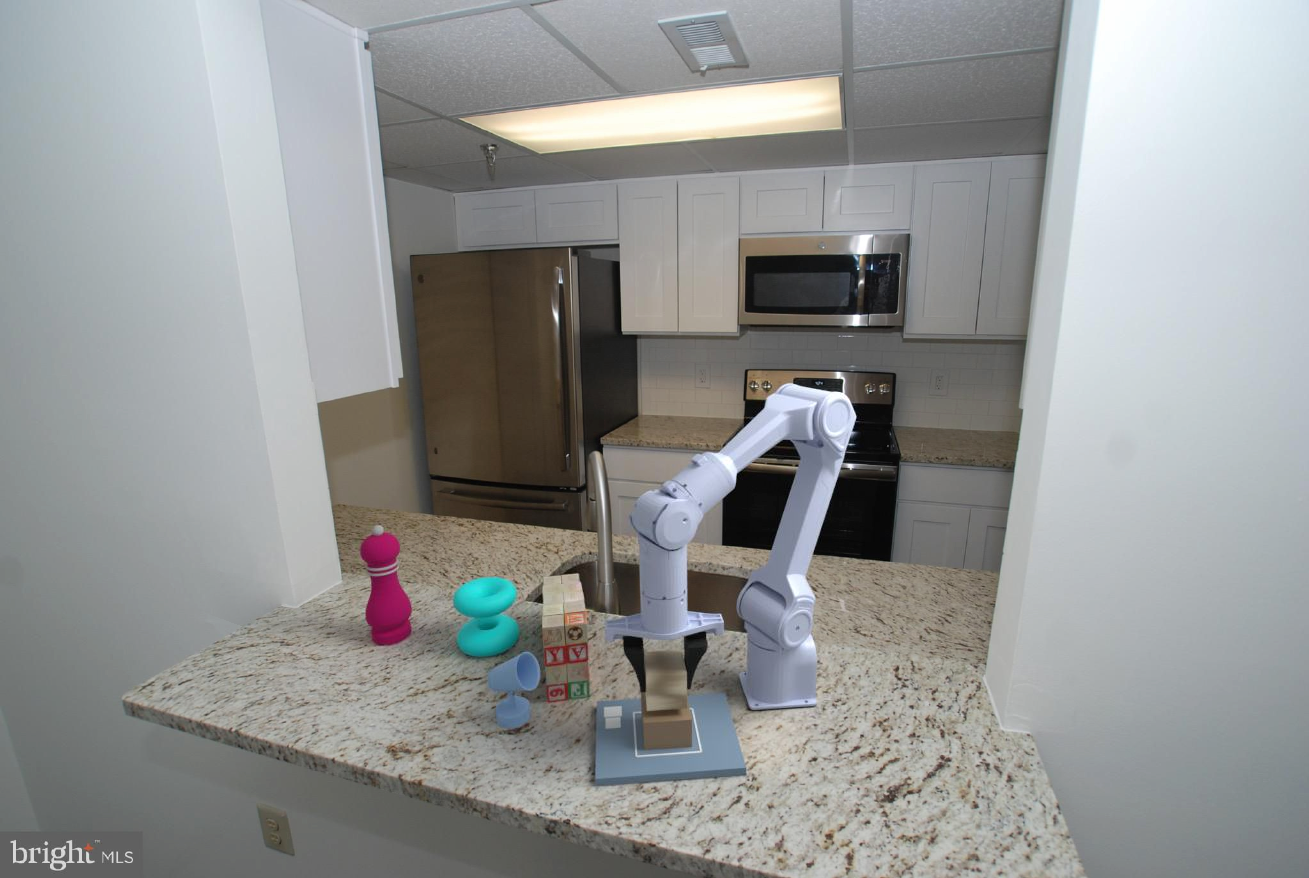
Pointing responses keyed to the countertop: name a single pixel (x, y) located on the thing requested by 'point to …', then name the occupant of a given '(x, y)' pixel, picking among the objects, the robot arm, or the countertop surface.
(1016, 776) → the countertop surface
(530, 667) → the spotlight
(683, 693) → the maple block
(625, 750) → the blueprint board
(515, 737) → the countertop surface
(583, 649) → the stack of blocks
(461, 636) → the donuts
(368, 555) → the pepper mill
